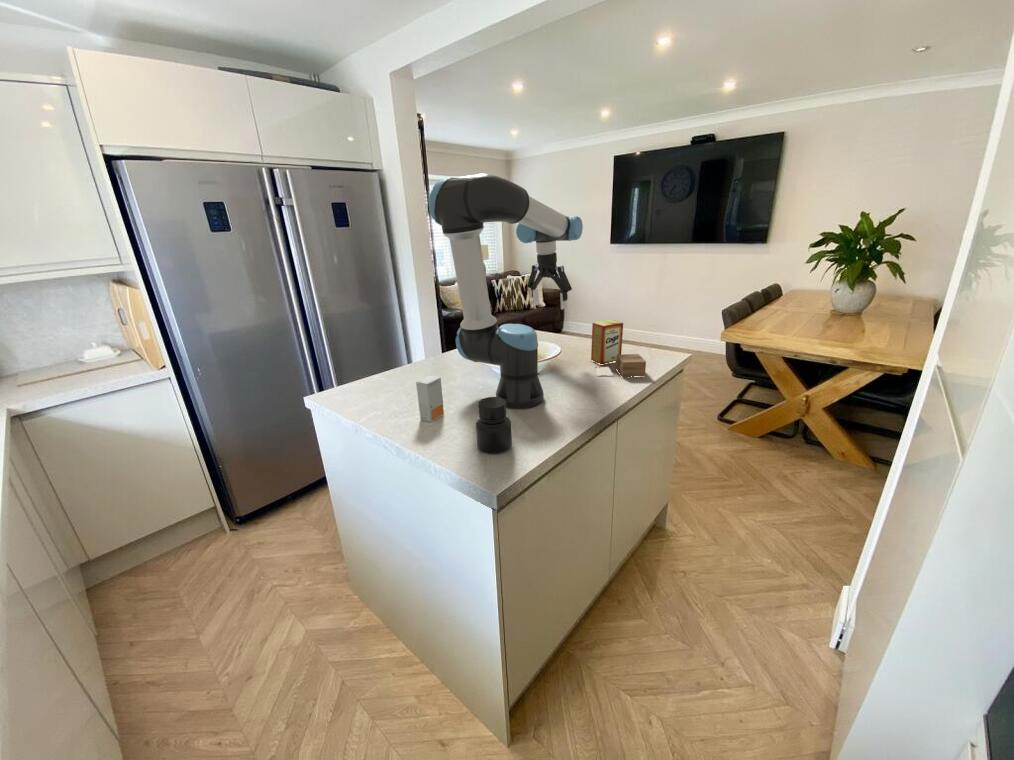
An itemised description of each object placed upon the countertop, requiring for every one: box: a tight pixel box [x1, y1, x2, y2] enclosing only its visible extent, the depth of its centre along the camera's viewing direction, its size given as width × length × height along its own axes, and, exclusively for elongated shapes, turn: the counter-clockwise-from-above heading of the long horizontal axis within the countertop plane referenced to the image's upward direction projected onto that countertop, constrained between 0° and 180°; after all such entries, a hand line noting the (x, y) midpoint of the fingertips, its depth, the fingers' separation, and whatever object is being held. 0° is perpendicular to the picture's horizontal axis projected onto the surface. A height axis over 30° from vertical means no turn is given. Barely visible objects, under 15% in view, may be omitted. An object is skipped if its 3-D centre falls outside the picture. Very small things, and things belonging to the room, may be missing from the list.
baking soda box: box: [590, 319, 624, 364], centre depth 156 cm, size 10×6×16 cm
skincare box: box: [415, 375, 445, 423], centre depth 115 cm, size 6×4×12 cm
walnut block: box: [615, 353, 647, 378], centre depth 144 cm, size 9×8×6 cm
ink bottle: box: [475, 396, 513, 455], centre depth 98 cm, size 10×9×12 cm
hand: (549, 306), depth 162 cm, fingers open, 13 cm apart
